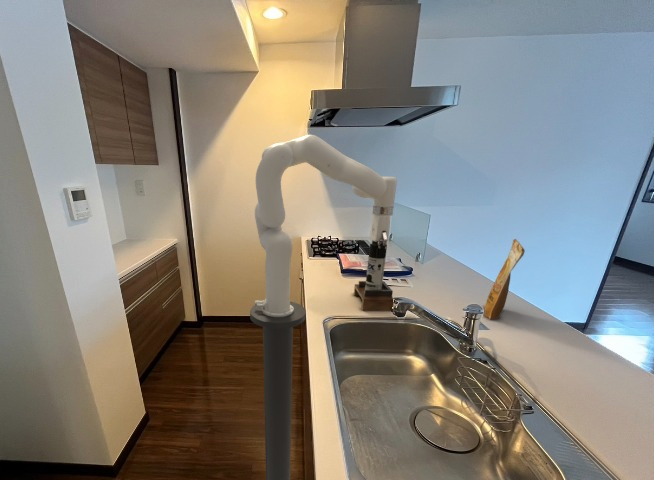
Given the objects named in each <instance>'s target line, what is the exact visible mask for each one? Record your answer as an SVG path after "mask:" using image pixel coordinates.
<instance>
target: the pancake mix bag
mask: <svg viewBox="0 0 654 480" xmlns="http://www.w3.org/2000/svg"><path fill="white" fill-rule="evenodd" d="M524 255H525V248H524V247H523V245H522V244H521V243H520V242H519V240H518V239H517V238H513V239H512V245H511V248H510V251H509V252H508V255H507V257H506V259H505V262H504V263H503V266H502V267H501V269H500V270H499V273H498V274H497V276H496V279H495V280H494V283H493V285H492V287H491V289H490V291H489V294H488V296H487V298H486V302H485V306H484V317H485V318H488V319H489V320H497V319H499V318H500V316H501V314H502V313H503V311H504V308H505V305H506V302H507V298H508V294H509V289H510V282H511V277H512V275H511V273H512V271H513V270H514V268H515V267H516V265H518V263H519V261H520V260H521V259H523V258H522V257H524Z"/></svg>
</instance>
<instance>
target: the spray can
mask: <svg viewBox="0 0 654 480" xmlns="http://www.w3.org/2000/svg"><path fill="white" fill-rule="evenodd" d="M380 245H381V243H380ZM377 248H378V243H372V242H371V243H370V244H369V250H368V259H367V267H366V277H365V281H366V285H365V290H381V289H382V282H383V280H384V273H385V265H386V258H387V248H388V244H387V245H386V252H385V258H384V259H377V258H376V254H377Z"/></svg>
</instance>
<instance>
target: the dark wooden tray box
mask: <svg viewBox="0 0 654 480" xmlns="http://www.w3.org/2000/svg"><path fill="white" fill-rule="evenodd" d="M365 285H366V280H359V281H358V283H354V287H353V296H354V297H360V299H361V311H372V312H373V311H374V312H376V311H378V312H379V311H380V312H381V311H382V312H385V311H386V312H392V311H391V309H392V307H393V308H394V305H395V301H394V302H393V299H394V300H395V298H394V297H393V294H394V293H393V292H394V290H393V289H392V288H391V287H390V286H389V285H388V284H387V283H386V282H385V280H384V281H383V282H382V289H381V290H365Z"/></svg>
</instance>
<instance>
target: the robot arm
mask: <svg viewBox="0 0 654 480" xmlns="http://www.w3.org/2000/svg"><path fill="white" fill-rule="evenodd" d="M305 163H306V164H308V165H309V166H311V167H313V168H315V169H316V170H318V171H319V172H321V173H323V175H325V176H326V177H328V178H330V179H332V180H333V181H334V180H335V181H338V182H341V183H344V184H347V185H350V186H352V191H353V193H354V194H355V195H356V196H357V197H359V198H363V199H372V200H373V203H372V213H371V215H372V220H371V226H370V232H369V239H370V240H371V244H372V243H378V248H377V254H376V258H377V259H384V258H385V252H386V253H387V250H386V245H387V246H388V244H387V242H388V241H389V237H390V227H391V217H393V215H394V209H395V200H396V193H397V185H398V180H397V177H395V176H382V175H380V174H379V173H378V172H376V170H375V171H374V169H372V168H370V167H369V166H367V165H365V164H363V163H362V162H361V163H360V162H358V161H357V160H356V159H353V158H351V157H349V156H347V155H345V154H343V153H342V152H341V151H339V150H337V149H336V148H335V147H333V146H332V145H331V144H329V143H328V142H326V141H325V140H324V139H322V138H321V137H319V136H317V135H314V134H307V135H304V136H300V137H298V138H294V139H291V140H289V141H284V142H276V143H274V144H271V145H269V146H267V147H266V148H265V149H264V150H263V151H262V153H261V160H260V162H259V163H258V166H257V169H256V173H255V189H256V197H257V204H256V205H255V207H254V219H255V224H256V229H257V234H258V240H259V243H260V245H261V247H262V248H263V250H264V251H265V261H264V263H265V264H264V269H265V270H264V274H265V277H264V278H265V298H264V299H262V300H254V306H255V305H257V307H262V312H263V313H264V314H265V315H267V316H271V317H285V316H289V315H291V314H292V313H293V312H294V308H293V306H291V305H290V302H291V263H292V255H293V241H292V239H291V237H290V236H289V234H288V233H286V232H285V231H283V230H282V229H283V227H282V225H283V224H284V222H285V220H286V210H285V204H284V199H283V192H282V177H283V175H284V173H285V171H286V170H287V169H288V168H291V167H294V166H298V165H302V164H305ZM380 243H381V245H380Z"/></svg>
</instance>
